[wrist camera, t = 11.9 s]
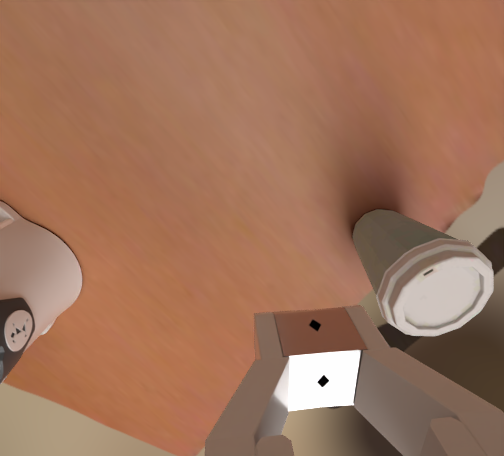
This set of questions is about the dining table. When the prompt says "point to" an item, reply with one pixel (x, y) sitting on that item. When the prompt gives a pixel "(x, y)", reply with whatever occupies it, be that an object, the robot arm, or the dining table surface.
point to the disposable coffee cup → (421, 273)
